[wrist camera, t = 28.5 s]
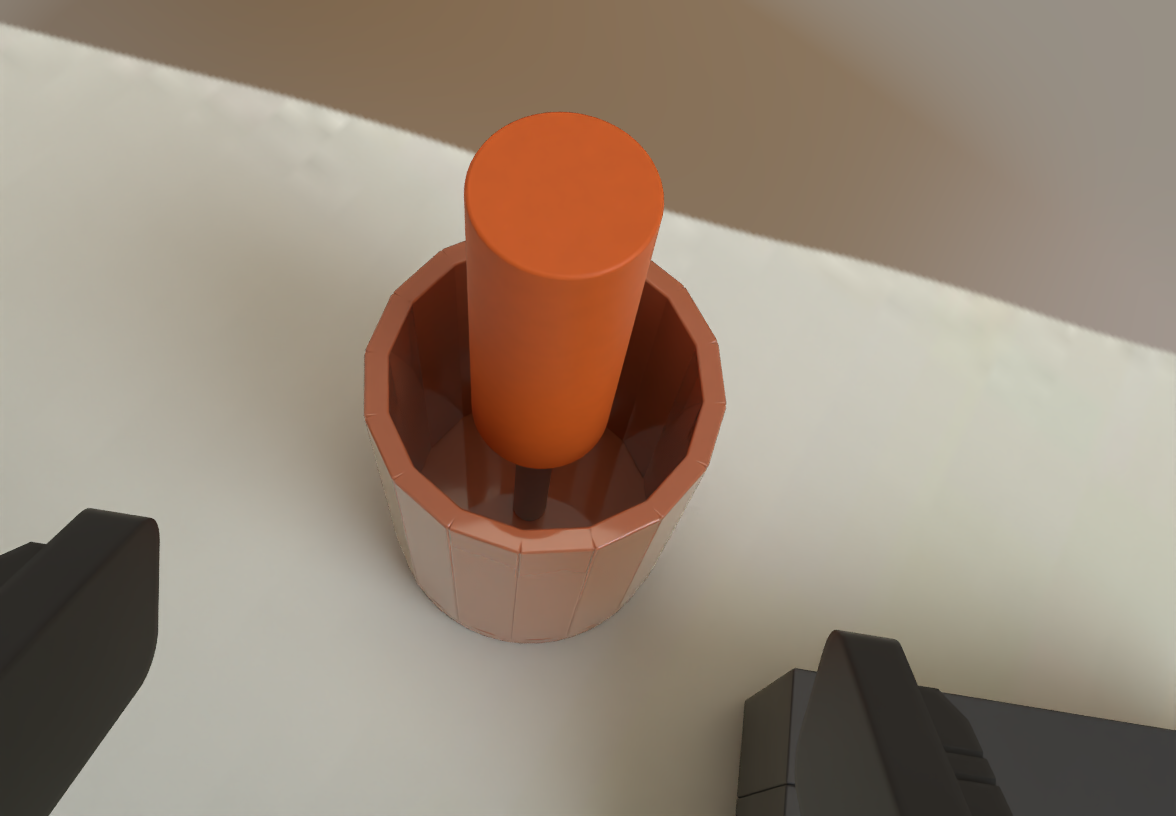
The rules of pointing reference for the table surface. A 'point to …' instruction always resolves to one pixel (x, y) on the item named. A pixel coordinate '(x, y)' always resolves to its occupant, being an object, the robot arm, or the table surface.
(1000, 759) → the holder
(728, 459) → the table surface
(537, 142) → the orange screwdriver
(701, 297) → the table surface
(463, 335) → the pen cup
